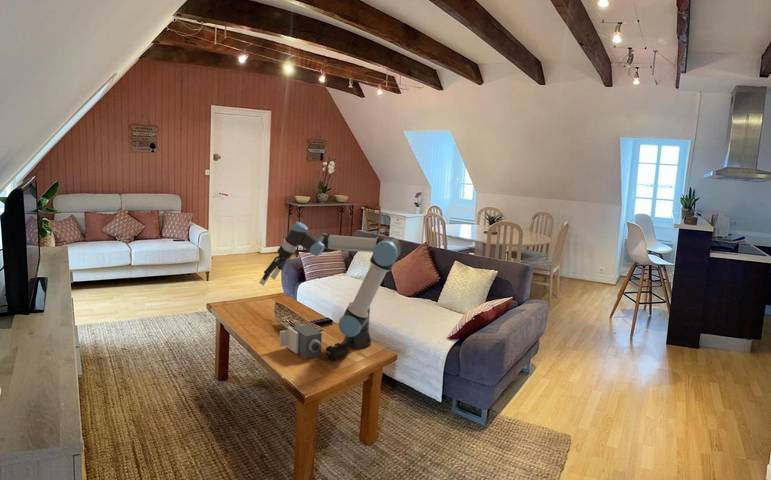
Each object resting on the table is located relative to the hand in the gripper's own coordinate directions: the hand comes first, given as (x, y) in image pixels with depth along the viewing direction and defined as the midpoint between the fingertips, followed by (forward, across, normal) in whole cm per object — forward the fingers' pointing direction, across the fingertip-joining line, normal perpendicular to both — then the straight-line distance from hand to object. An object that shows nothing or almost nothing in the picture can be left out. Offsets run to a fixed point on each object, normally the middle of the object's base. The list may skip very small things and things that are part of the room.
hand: (266, 281), depth 258 cm
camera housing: (+16, +7, +40) cm, 43 cm away
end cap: (+8, +8, +54) cm, 55 cm away
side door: (+20, +8, +31) cm, 38 cm away
